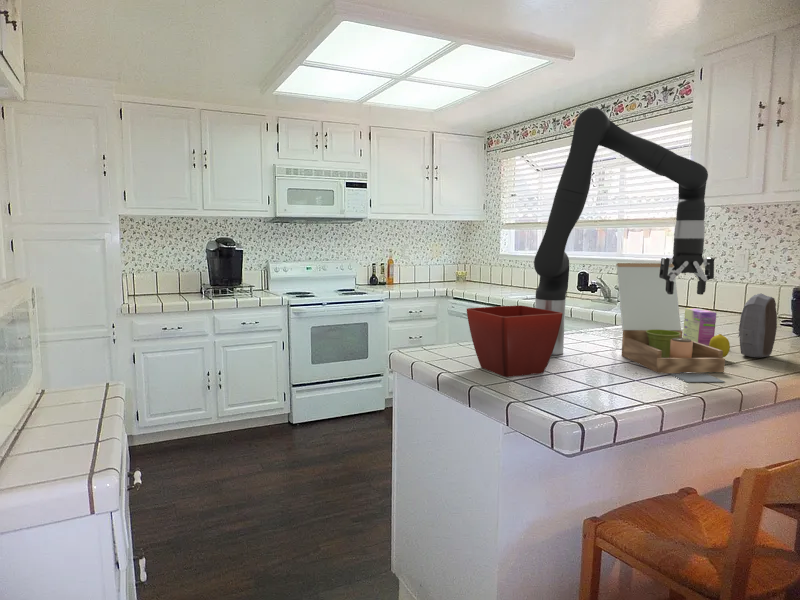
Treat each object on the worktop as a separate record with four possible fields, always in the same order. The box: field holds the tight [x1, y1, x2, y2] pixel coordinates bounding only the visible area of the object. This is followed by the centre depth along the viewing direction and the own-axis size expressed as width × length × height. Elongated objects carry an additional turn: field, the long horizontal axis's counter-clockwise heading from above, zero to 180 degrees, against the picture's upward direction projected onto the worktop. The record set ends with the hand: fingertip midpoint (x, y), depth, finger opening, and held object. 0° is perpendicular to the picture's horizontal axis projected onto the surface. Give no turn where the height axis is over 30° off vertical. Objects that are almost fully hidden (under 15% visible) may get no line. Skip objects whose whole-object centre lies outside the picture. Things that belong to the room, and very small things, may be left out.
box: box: [682, 307, 717, 346], centre depth 191 cm, size 10×6×12 cm, turn 179°
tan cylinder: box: [669, 337, 693, 358], centre depth 153 cm, size 6×6×8 cm
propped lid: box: [615, 262, 682, 332], centre depth 174 cm, size 18×12×29 cm, turn 92°
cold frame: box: [621, 329, 726, 374], centre depth 158 cm, size 18×22×8 cm
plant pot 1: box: [466, 305, 563, 378], centre depth 148 cm, size 19×19×17 cm
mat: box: [669, 373, 726, 383], centre depth 142 cm, size 10×8×1 cm
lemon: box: [709, 333, 731, 358], centre depth 164 cm, size 6×6×8 cm
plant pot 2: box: [646, 330, 681, 358], centre depth 163 cm, size 9×9×9 cm
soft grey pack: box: [737, 293, 778, 358], centre depth 169 cm, size 15×8×20 cm, turn 129°
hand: (685, 294), depth 154 cm, fingers open, 8 cm apart
